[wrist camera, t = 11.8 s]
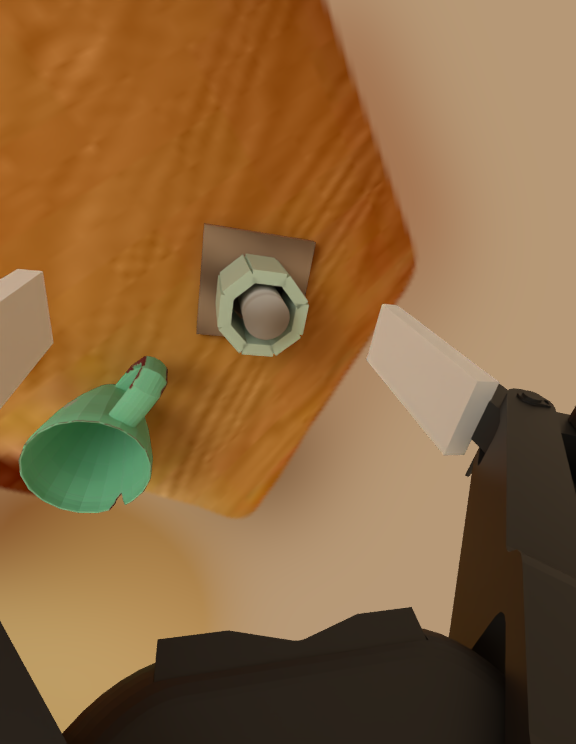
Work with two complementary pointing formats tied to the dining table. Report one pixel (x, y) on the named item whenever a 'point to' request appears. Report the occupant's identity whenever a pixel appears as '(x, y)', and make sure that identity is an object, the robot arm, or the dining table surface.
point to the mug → (97, 444)
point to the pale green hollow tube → (238, 281)
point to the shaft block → (259, 301)
